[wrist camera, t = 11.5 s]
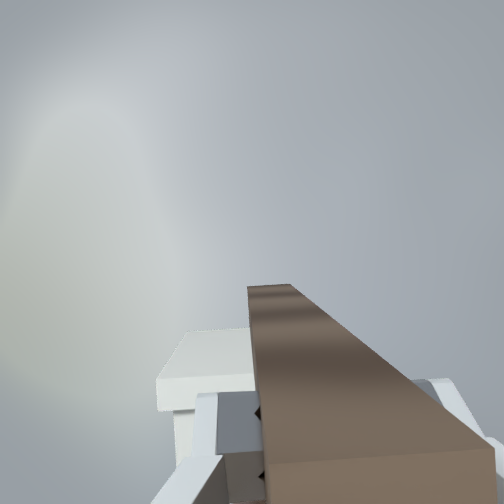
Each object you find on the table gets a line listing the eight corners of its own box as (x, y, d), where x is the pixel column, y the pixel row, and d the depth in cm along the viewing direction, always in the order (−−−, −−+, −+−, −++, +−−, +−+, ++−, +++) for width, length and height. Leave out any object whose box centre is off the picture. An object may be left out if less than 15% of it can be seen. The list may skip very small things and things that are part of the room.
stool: (201, 576, 51) (186, 331, 50) (348, 565, 51) (335, 322, 51) (179, 757, 33) (155, 379, 32) (405, 738, 33) (386, 364, 33)
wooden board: (249, 328, 30) (247, 286, 29) (292, 326, 30) (289, 283, 30) (282, 689, 6) (268, 464, 5) (506, 670, 6) (494, 448, 6)
